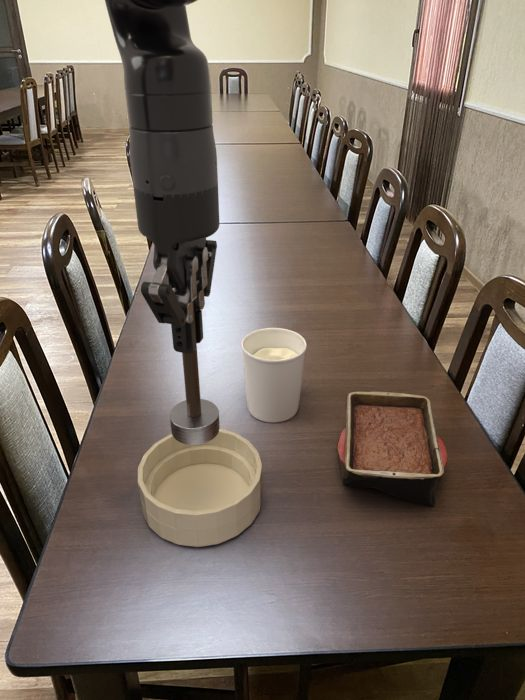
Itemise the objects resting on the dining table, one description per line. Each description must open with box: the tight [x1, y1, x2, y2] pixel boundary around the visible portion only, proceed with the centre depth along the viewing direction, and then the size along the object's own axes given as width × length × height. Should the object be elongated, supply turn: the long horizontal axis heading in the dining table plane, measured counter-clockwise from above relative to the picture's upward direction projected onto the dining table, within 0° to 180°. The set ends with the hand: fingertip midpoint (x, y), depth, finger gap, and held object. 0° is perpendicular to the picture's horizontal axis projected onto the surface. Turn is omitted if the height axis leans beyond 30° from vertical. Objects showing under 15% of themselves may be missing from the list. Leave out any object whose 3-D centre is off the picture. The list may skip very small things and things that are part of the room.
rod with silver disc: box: [169, 302, 221, 445], centre depth 59 cm, size 6×6×16 cm
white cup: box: [240, 327, 308, 424], centre depth 84 cm, size 10×10×12 cm
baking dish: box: [336, 390, 448, 508], centre depth 73 cm, size 14×18×10 cm
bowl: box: [137, 428, 263, 548], centre depth 68 cm, size 15×15×6 cm
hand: (188, 345), depth 57 cm, fingers closed on rod with silver disc
